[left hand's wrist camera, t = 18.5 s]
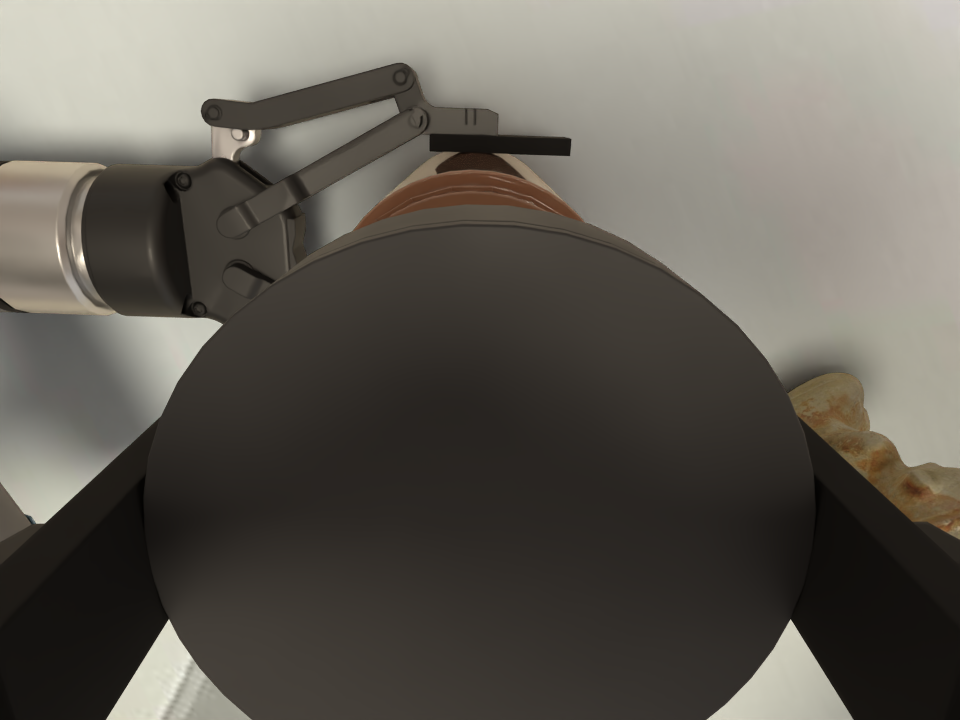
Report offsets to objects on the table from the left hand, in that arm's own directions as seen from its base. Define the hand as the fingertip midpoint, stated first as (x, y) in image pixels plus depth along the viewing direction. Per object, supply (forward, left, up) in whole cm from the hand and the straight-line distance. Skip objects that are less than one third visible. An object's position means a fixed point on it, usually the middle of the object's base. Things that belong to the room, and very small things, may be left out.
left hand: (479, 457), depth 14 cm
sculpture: (-24, -1, -27) cm, 36 cm away
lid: (0, 0, +3) cm, 3 cm away
